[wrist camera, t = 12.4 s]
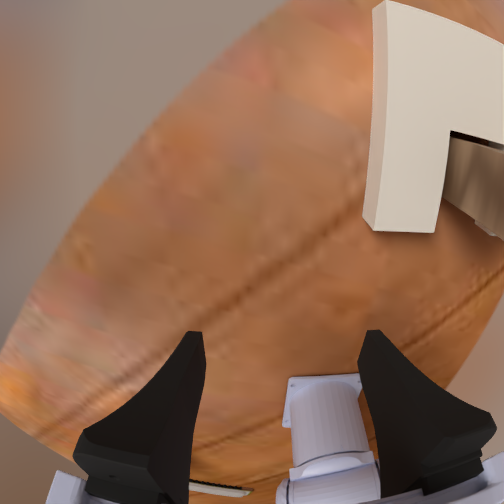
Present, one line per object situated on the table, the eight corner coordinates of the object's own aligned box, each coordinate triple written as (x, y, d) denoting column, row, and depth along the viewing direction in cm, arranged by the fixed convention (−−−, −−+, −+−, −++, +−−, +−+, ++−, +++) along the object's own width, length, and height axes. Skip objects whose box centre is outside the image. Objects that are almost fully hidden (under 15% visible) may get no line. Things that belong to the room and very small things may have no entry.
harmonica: (173, 478, 45) (171, 486, 43) (174, 473, 44) (173, 482, 42) (248, 490, 47) (247, 498, 45) (252, 486, 45) (252, 494, 43)
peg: (473, 196, 20) (546, 245, 12) (432, 191, 20) (507, 243, 12) (481, 144, 18) (563, 176, 10) (439, 134, 18) (525, 162, 10)
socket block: (507, 226, 21) (523, 237, 19) (362, 216, 21) (373, 230, 19) (526, 68, 14) (545, 69, 12) (371, 9, 14) (385, -1, 12)
